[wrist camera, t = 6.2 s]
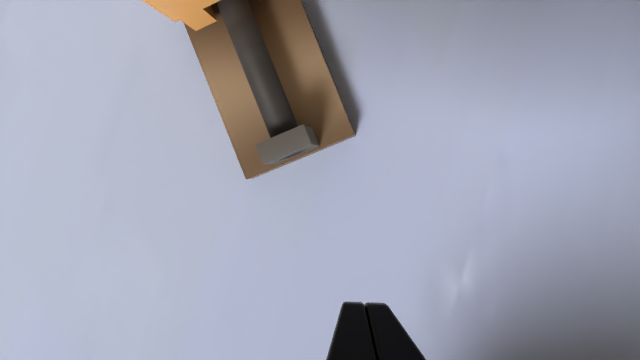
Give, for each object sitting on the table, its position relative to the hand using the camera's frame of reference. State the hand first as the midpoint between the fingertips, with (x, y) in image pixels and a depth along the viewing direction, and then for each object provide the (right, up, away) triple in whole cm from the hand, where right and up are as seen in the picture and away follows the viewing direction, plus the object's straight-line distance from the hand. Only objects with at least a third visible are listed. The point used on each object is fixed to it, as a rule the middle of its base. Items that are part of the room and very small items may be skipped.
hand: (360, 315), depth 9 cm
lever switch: (-4, +9, +12) cm, 15 cm away
